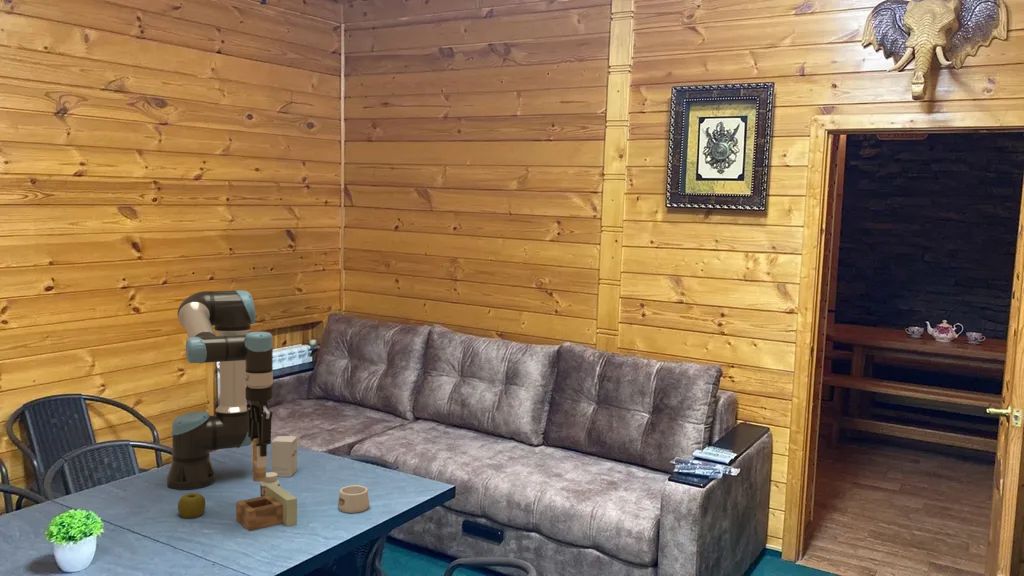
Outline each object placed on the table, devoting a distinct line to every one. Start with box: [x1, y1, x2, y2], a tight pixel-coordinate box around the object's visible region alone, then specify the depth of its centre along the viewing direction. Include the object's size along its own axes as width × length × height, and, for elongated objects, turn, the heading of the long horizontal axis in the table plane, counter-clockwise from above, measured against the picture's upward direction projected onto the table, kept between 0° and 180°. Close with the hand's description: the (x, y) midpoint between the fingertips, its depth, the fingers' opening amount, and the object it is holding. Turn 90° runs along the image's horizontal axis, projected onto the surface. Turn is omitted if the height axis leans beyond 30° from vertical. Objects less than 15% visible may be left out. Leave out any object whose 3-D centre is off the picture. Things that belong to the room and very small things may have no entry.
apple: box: [177, 492, 207, 519], centre depth 238 cm, size 8×8×7 cm
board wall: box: [265, 483, 298, 527], centre depth 230 cm, size 16×28×9 cm, turn 129°
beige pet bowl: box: [337, 484, 370, 514], centre depth 250 cm, size 12×10×6 cm
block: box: [235, 495, 283, 532], centre depth 233 cm, size 10×10×6 cm
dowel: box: [252, 438, 267, 483], centre depth 232 cm, size 4×4×12 cm
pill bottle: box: [259, 471, 280, 497], centre depth 250 cm, size 6×6×10 cm
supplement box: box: [270, 435, 298, 478], centre depth 280 cm, size 7×7×13 cm
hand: (259, 464), depth 232 cm, fingers closed on dowel, 3 cm apart
